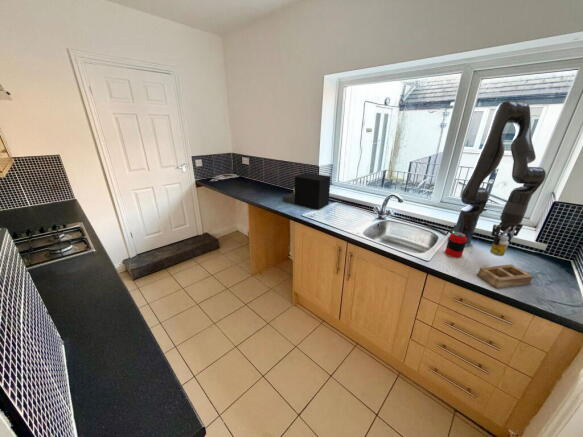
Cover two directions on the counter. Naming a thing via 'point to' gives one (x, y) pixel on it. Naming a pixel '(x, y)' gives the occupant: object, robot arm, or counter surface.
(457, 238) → the soda can
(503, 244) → the supplement bottle
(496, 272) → the holder
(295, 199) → the black squarish block
